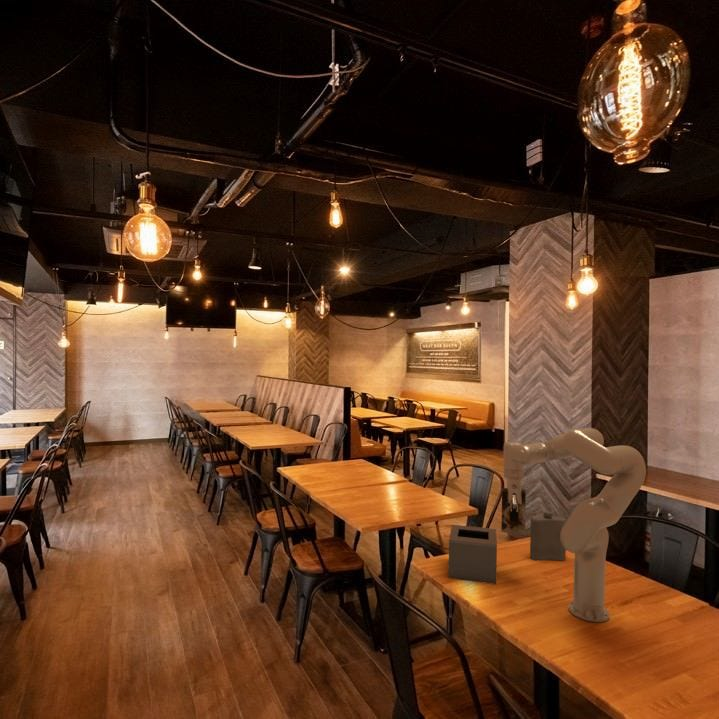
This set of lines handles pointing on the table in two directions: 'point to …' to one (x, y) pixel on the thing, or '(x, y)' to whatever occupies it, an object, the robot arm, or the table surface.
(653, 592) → the table surface
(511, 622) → the table surface
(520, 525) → the coffee box
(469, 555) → the slot box
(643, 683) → the table surface
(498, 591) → the table surface
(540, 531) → the flask
